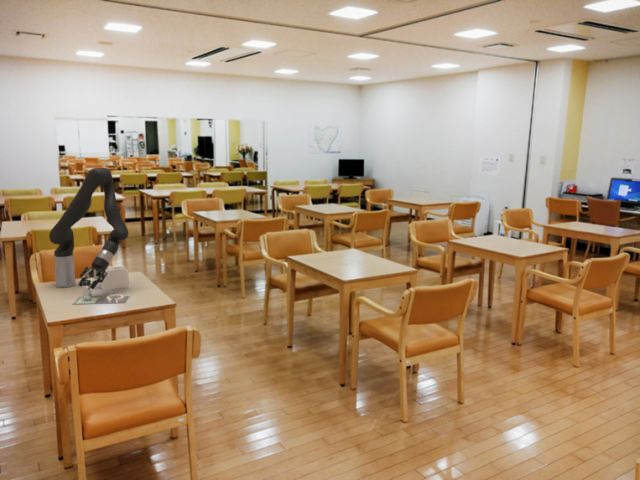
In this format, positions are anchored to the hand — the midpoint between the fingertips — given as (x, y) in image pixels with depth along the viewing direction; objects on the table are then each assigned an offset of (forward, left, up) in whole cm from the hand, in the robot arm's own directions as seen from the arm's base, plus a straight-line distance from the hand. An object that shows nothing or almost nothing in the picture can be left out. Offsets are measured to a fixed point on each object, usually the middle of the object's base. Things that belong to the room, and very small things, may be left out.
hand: (85, 287), depth 268 cm
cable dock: (+7, 0, -8) cm, 11 cm away
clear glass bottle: (0, 0, -7) cm, 7 cm away
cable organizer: (+7, +25, -8) cm, 27 cm away
